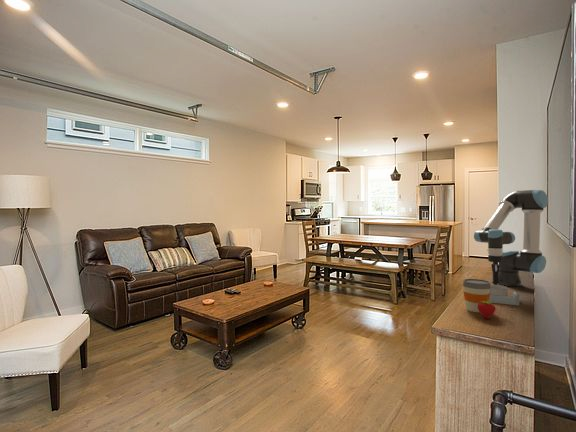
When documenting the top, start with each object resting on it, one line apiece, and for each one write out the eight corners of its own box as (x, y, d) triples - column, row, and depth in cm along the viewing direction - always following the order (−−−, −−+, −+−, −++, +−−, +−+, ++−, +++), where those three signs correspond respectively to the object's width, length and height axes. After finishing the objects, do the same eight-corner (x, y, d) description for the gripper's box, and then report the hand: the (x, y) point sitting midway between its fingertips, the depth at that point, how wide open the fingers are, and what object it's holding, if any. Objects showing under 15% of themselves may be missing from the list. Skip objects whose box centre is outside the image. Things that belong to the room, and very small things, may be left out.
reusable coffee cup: (488, 315, 164) (489, 284, 164) (460, 310, 172) (460, 281, 172) (491, 309, 174) (492, 280, 174) (465, 305, 182) (465, 277, 182)
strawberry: (478, 315, 163) (478, 295, 163) (496, 318, 159) (496, 297, 159) (476, 318, 159) (476, 297, 159) (494, 322, 154) (494, 300, 154)
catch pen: (475, 294, 204) (475, 286, 204) (516, 298, 194) (516, 289, 194) (475, 300, 190) (475, 291, 190) (519, 305, 180) (519, 296, 180)
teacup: (512, 303, 185) (512, 288, 185) (491, 302, 186) (491, 288, 186) (498, 296, 199) (498, 283, 199) (479, 296, 200) (479, 283, 200)
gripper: (487, 253, 209) (487, 290, 209) (488, 256, 197) (488, 295, 198) (501, 253, 205) (501, 292, 206) (503, 256, 194) (503, 297, 194)
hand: (495, 293), depth 202 cm, fingers closed
